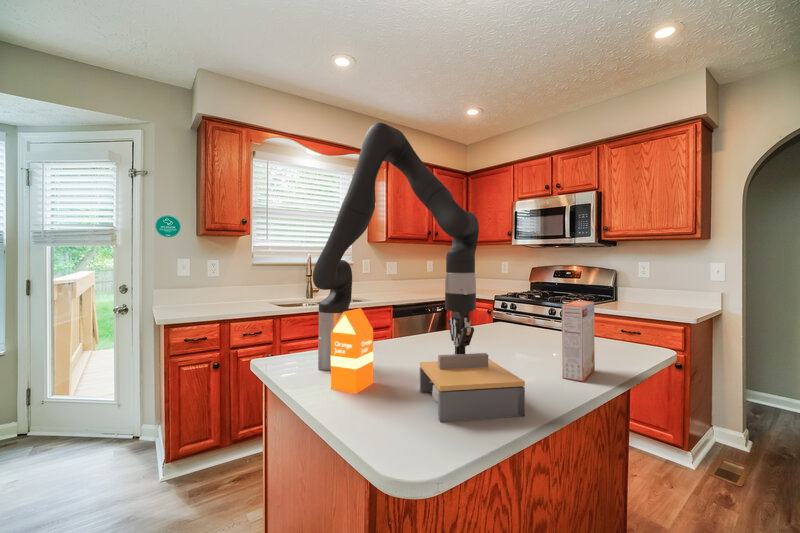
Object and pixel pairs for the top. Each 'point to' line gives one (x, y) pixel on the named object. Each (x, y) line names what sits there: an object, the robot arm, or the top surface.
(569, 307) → the cracker box
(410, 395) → the top surface
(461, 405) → the box
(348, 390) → the orange juice
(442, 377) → the lid
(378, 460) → the top surface
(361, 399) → the top surface
